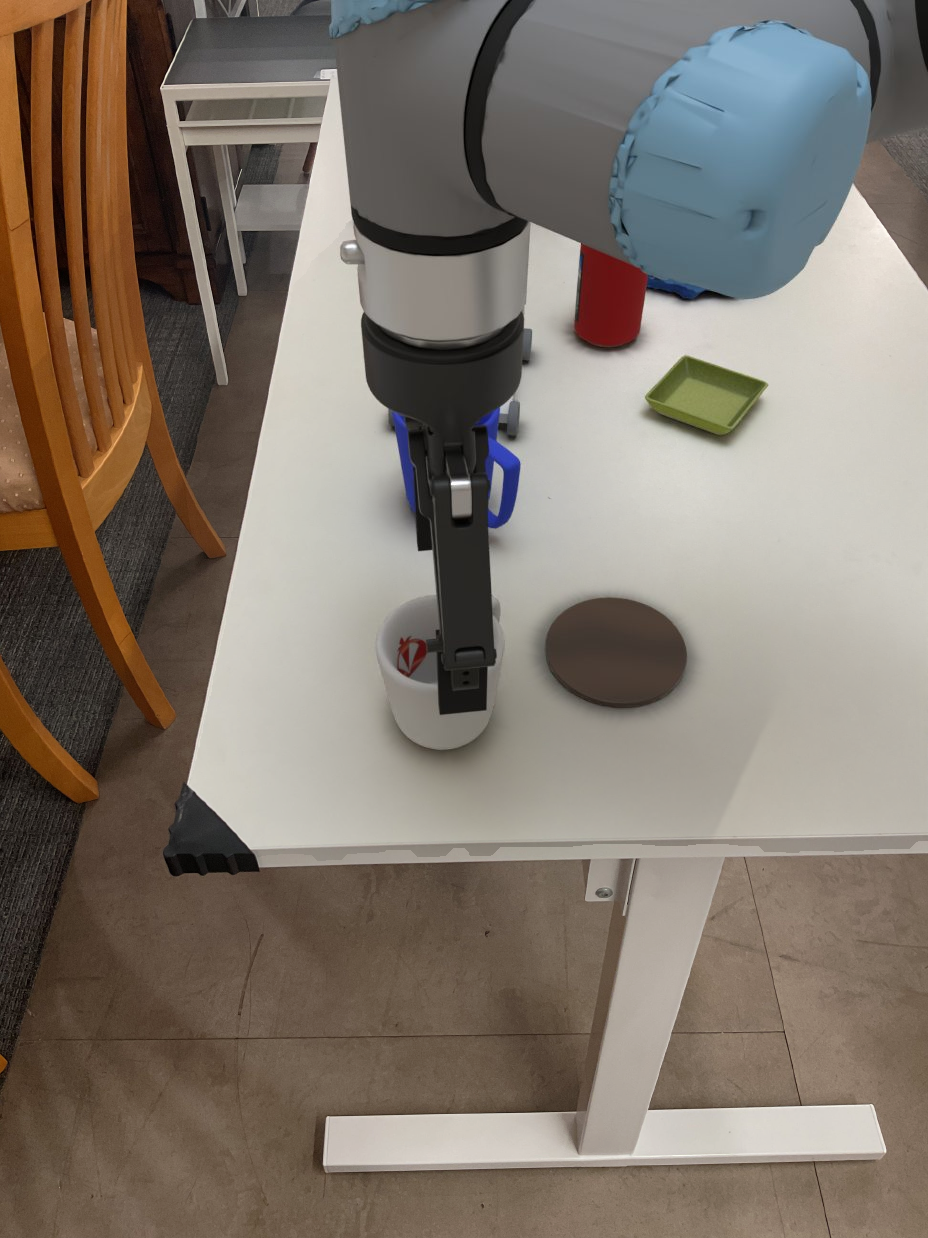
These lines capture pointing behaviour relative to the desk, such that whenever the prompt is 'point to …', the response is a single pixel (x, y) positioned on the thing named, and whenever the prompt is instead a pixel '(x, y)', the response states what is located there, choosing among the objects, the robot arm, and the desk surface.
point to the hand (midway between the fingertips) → (449, 620)
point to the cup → (428, 676)
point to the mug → (496, 454)
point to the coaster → (616, 652)
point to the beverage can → (608, 299)
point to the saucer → (705, 395)
